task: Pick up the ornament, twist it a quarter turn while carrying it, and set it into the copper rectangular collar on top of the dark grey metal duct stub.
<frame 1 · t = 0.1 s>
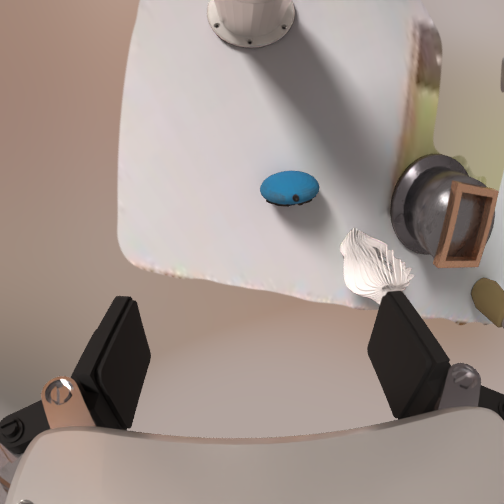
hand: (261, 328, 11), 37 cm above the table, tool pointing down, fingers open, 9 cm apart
shell sculpture: (356, 241, 50), on the table
duct stub: (433, 204, 47), on the table
ornament: (285, 181, 45), on the table
squeeze bottle: (478, 287, 56), on the table
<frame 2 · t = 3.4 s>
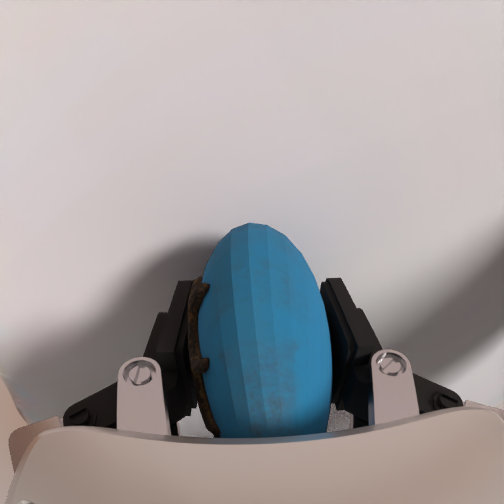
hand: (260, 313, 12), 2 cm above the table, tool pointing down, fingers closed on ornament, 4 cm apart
ornament: (257, 284, 14), on the table, touching gripper
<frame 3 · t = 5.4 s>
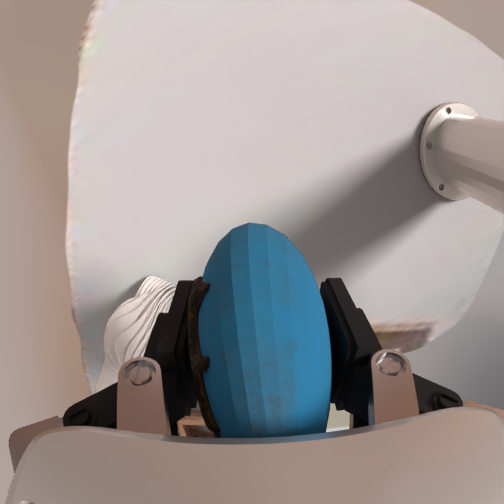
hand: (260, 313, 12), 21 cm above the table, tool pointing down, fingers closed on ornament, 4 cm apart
shell sculpture: (162, 294, 36), on the table
duct stub: (229, 375, 43), on the table
ornament: (257, 284, 14), point 19 cm above the table, touching gripper
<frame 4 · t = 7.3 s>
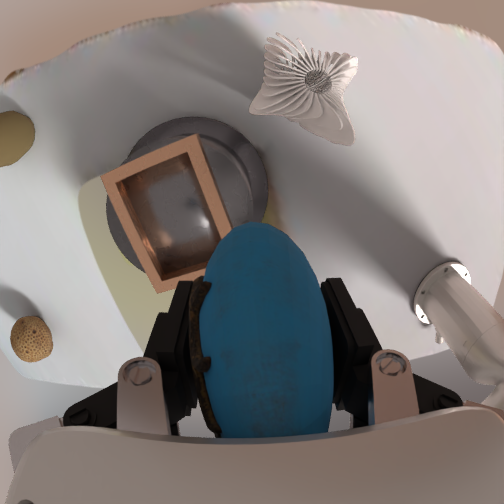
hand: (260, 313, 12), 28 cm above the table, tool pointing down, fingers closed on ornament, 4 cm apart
shell sculpture: (286, 95, 33), on the table
duct stub: (192, 191, 37), on the table
ornament: (258, 284, 14), point 26 cm above the table, touching gripper
squeeze bottle: (23, 134, 32), on the table
natural sponge: (44, 321, 47), on the table
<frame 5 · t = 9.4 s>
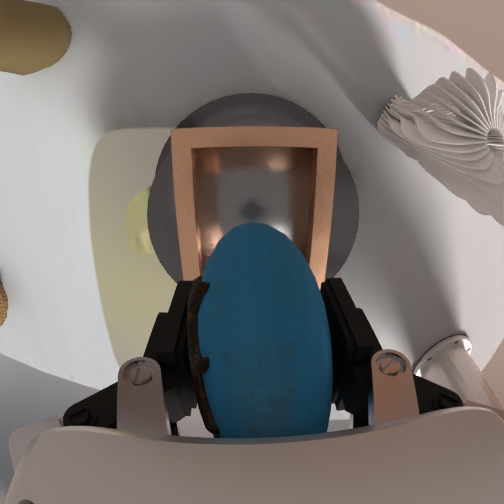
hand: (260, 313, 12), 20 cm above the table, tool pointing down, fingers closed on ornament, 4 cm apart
shell sculpture: (393, 122, 27), on the table
duct stub: (250, 189, 30), on the table
ornament: (257, 284, 14), point 18 cm above the table, touching gripper
squeeze bottle: (52, 43, 21), on the table
natural sponge: (2, 283, 34), on the table
when the fingers open (13 cm above the table, at t = 11.1 s): ornament stays where it is, resting on duct stub.
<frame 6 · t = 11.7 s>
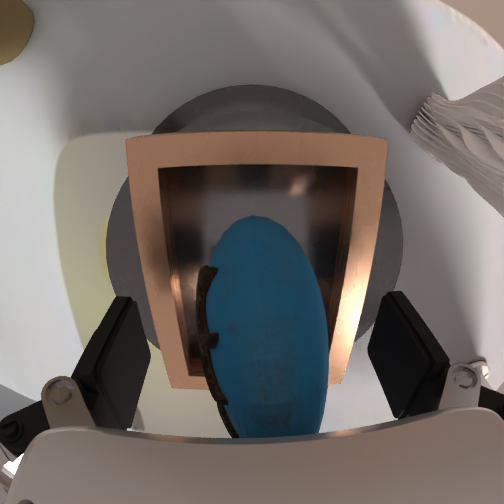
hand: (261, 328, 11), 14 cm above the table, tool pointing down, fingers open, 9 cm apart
shell sculpture: (428, 127, 20), on the table
duct stub: (251, 210, 23), on the table
ornament: (257, 276, 14), point 10 cm above the table, touching duct stub
squeeze bottle: (14, 35, 15), on the table
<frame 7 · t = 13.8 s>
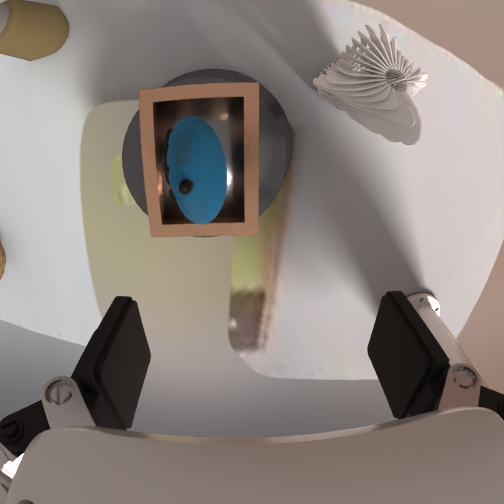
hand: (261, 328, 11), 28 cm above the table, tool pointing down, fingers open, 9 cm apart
shell sculpture: (334, 88, 32), on the table
duct stub: (211, 146, 34), on the table
ornament: (201, 160, 26), point 10 cm above the table, touching duct stub
squeeze bottle: (53, 36, 25), on the table
natural sponge: (1, 244, 38), on the table
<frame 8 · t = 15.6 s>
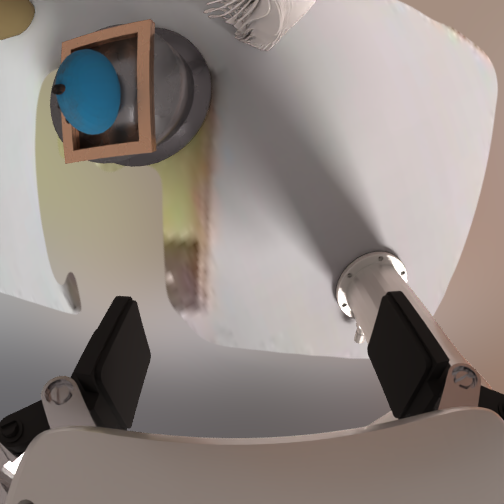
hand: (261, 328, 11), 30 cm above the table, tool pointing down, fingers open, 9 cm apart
shell sculpture: (255, 32, 30), on the table
duct stub: (139, 95, 33), on the table
ornament: (108, 92, 24), point 10 cm above the table, touching duct stub
squeeze bottle: (23, 19, 24), on the table
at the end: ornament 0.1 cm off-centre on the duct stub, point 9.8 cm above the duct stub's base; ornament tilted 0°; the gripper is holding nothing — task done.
